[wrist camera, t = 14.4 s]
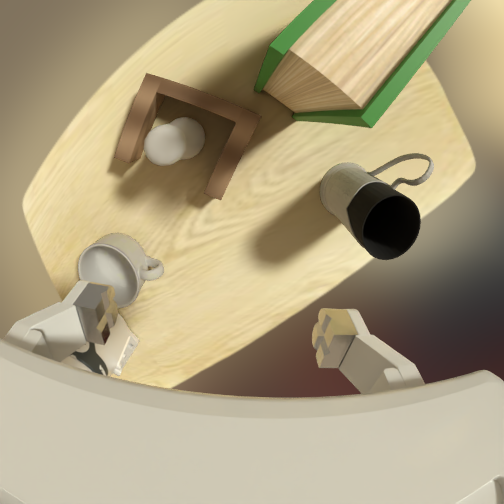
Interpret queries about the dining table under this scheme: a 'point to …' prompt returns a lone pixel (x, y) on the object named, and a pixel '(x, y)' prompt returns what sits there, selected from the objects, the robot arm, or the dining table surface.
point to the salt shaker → (174, 141)
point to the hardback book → (353, 56)
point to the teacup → (119, 266)
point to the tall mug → (374, 206)
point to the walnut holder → (158, 87)
